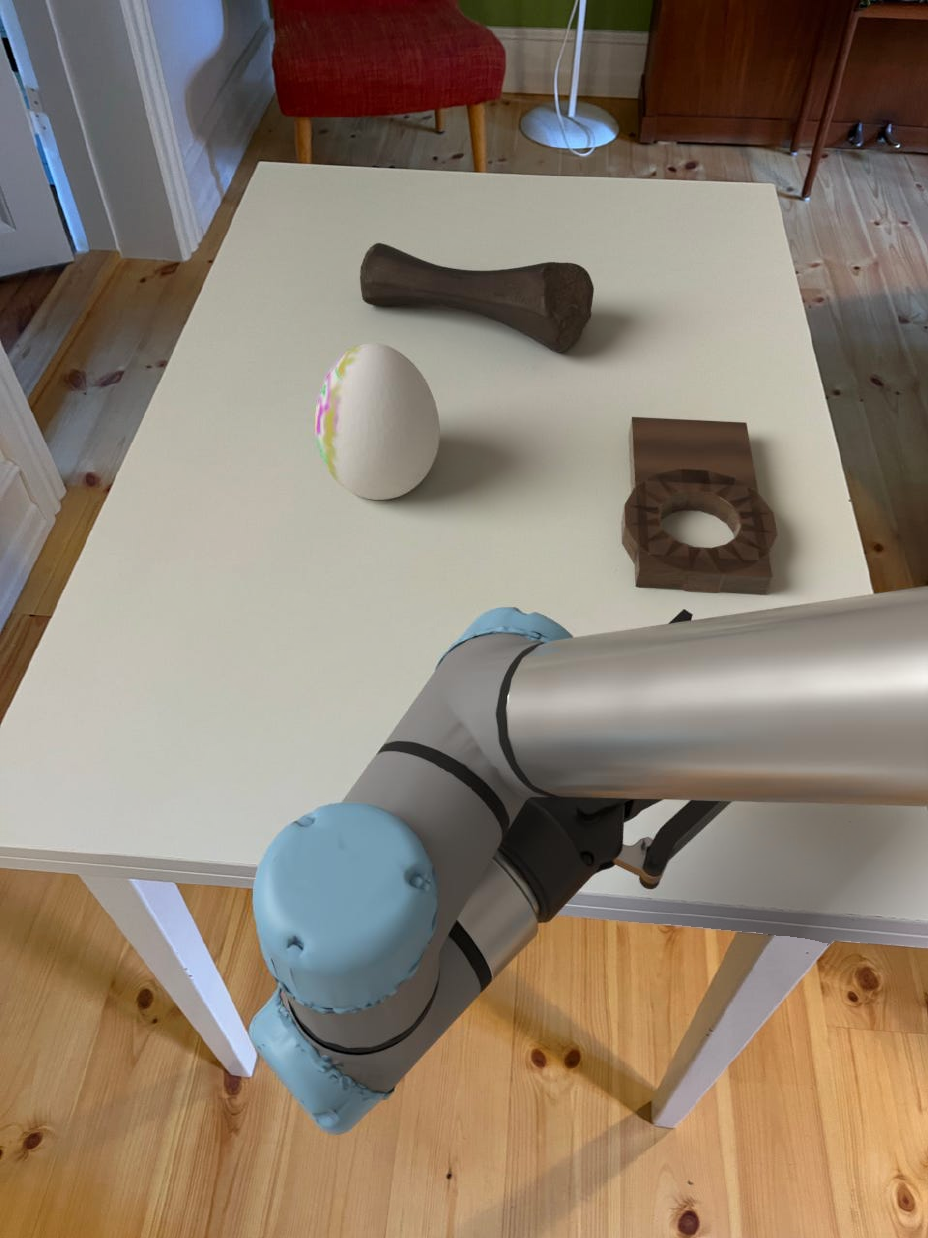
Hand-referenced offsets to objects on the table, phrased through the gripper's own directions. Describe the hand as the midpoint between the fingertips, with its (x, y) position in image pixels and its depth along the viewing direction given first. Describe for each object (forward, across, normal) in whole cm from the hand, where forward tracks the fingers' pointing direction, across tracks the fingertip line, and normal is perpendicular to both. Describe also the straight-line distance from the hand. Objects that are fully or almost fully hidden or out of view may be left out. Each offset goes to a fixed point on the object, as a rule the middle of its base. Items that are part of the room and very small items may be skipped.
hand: (725, 651), depth 64 cm
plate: (+24, -17, -14) cm, 32 cm away
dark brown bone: (+32, -55, -14) cm, 65 cm away
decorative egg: (+6, -43, -14) cm, 46 cm away
